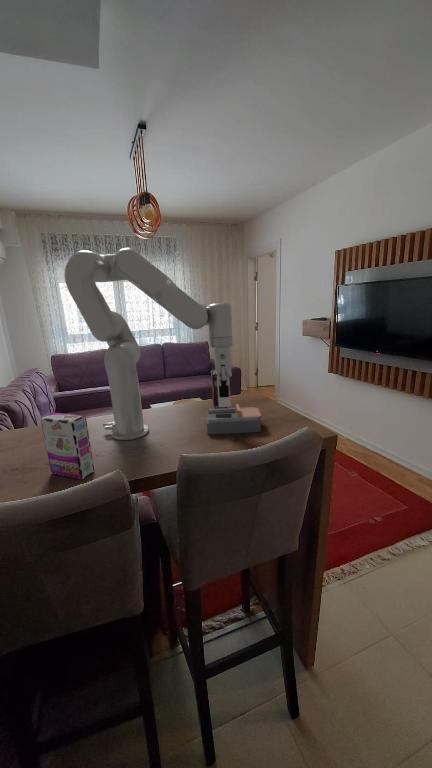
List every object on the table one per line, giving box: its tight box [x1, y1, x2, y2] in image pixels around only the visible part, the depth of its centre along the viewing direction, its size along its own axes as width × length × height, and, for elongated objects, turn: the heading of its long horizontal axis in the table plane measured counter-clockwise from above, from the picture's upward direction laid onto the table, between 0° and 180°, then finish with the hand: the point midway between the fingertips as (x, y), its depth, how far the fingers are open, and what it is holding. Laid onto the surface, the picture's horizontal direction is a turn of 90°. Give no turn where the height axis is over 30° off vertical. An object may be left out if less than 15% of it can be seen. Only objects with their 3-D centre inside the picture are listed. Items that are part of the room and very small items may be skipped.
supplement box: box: [210, 369, 227, 409], centre depth 129 cm, size 9×5×16 cm, turn 6°
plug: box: [217, 374, 232, 408], centre depth 108 cm, size 4×4×13 cm
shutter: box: [235, 403, 262, 420], centre depth 111 cm, size 8×8×3 cm
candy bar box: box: [40, 412, 95, 480], centre depth 85 cm, size 11×5×16 cm, turn 69°
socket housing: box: [206, 406, 262, 435], centre depth 112 cm, size 18×11×5 cm, turn 92°
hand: (223, 394), depth 109 cm, fingers closed on plug, 4 cm apart
